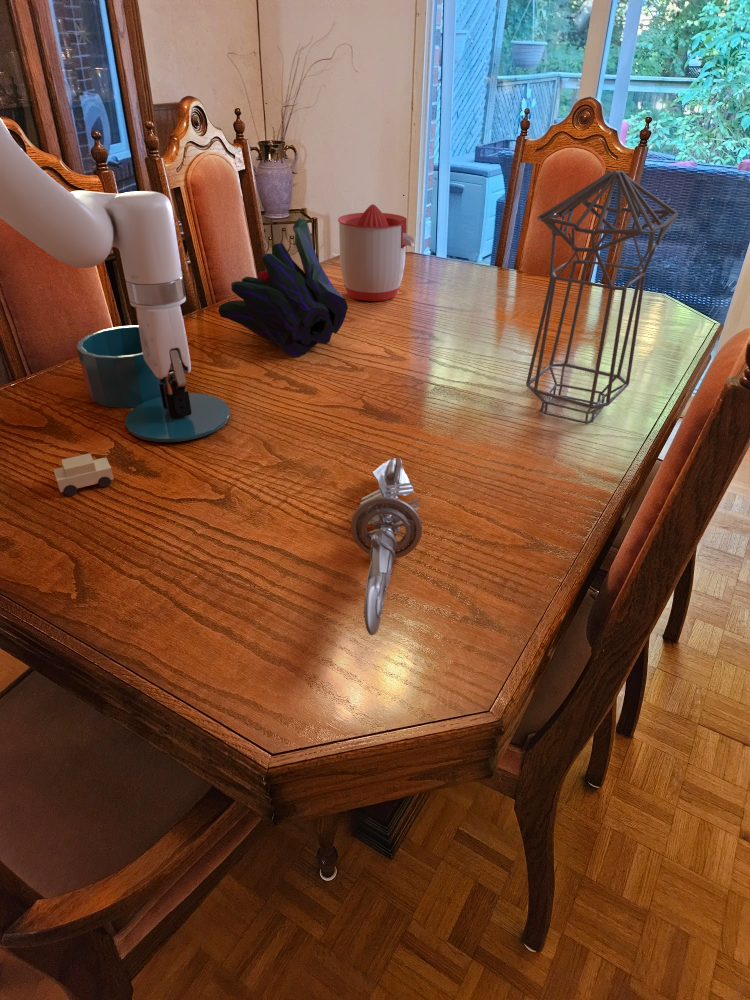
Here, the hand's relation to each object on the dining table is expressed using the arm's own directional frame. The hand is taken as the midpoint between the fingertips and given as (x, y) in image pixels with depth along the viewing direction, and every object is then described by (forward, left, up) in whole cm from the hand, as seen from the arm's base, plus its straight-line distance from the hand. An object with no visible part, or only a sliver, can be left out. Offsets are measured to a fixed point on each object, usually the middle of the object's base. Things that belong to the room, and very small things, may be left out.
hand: (177, 410), depth 102 cm
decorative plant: (+21, +33, -2) cm, 39 cm away
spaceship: (+22, -40, -2) cm, 46 cm away
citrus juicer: (+46, +56, -2) cm, 72 cm away
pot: (-7, +14, -2) cm, 16 cm away
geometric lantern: (+61, -11, -2) cm, 62 cm away
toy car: (-12, -16, -2) cm, 20 cm away
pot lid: (0, 0, -1) cm, 1 cm away
